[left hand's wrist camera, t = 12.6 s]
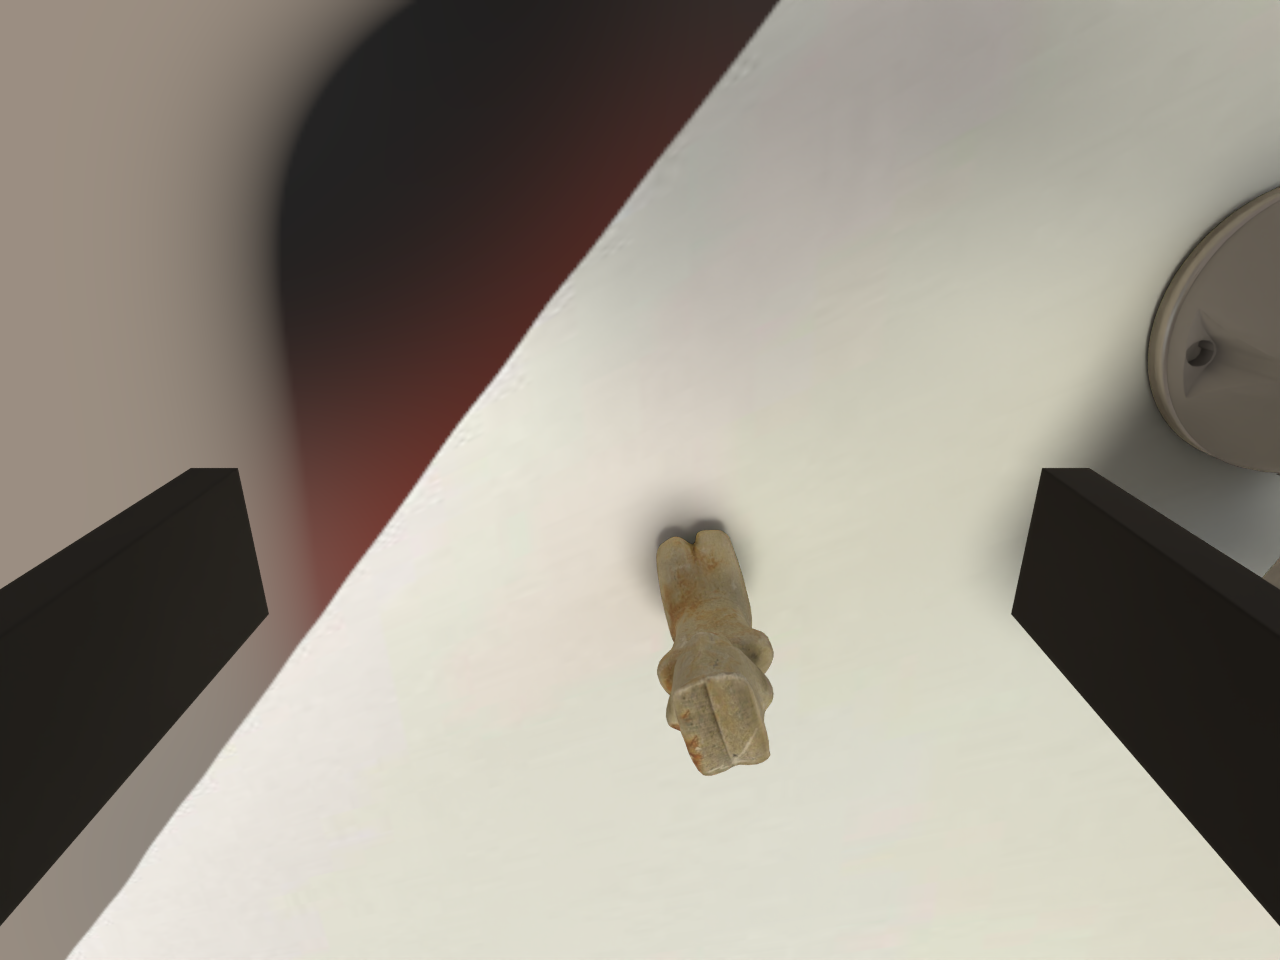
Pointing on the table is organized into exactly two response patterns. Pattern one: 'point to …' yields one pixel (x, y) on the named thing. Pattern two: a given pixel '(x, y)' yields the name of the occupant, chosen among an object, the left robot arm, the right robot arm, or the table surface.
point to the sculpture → (713, 654)
